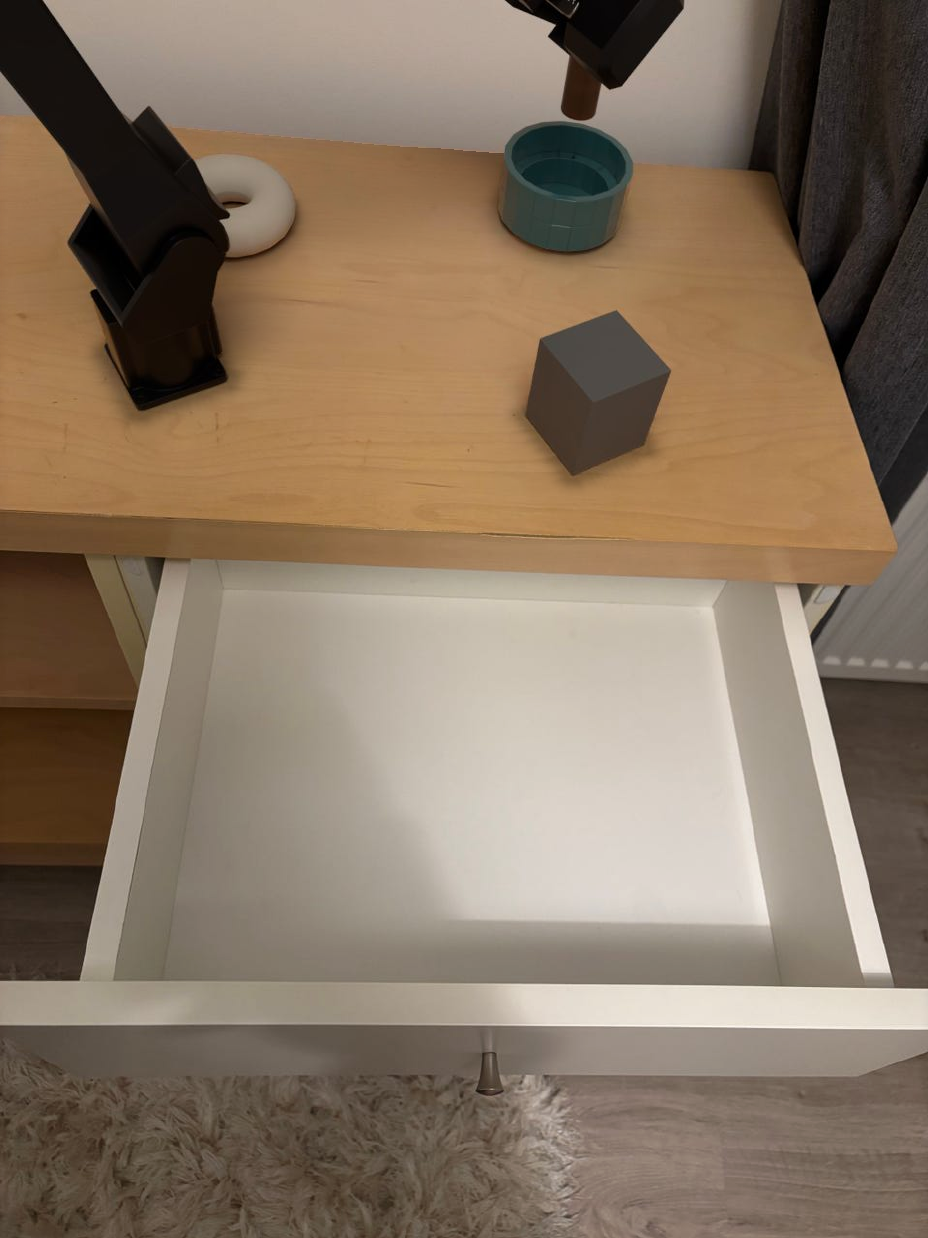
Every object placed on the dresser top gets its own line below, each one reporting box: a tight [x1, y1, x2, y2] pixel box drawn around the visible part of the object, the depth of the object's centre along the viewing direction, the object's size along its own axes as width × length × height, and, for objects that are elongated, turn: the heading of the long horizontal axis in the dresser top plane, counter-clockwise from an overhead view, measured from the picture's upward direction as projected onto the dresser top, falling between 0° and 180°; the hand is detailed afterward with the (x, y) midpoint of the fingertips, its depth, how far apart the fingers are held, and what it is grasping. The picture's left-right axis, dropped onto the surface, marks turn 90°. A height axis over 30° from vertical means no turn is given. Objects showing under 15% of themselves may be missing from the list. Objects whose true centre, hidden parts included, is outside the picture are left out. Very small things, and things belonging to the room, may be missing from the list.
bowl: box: [497, 120, 634, 253], centre depth 72 cm, size 10×10×5 cm
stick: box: [560, 55, 603, 122], centre depth 61 cm, size 3×3×12 cm
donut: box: [193, 153, 297, 258], centre depth 69 cm, size 10×4×10 cm
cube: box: [524, 309, 672, 476], centre depth 59 cm, size 6×6×7 cm
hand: (605, 40), depth 63 cm, fingers closed on stick, 2 cm apart
